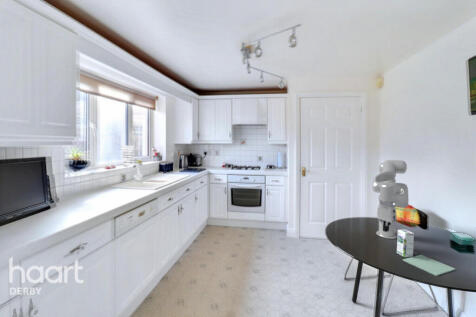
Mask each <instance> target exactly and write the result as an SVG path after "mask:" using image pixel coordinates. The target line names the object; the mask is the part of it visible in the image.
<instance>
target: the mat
mask: <svg viewBox="0 0 476 317" xmlns="http://www.w3.org/2000/svg"><path fill="white" fill-rule="evenodd" d="M402 261H403V262H405V263H407V264H409V265H412V266H414V267H415V268H418V269H421V270H422V271H425V272H427V273H429V274H431V275H433V276H435V277H437V276H441V275H443V274H447V273H450V272H453V271H455V270H456V267H455V268H454V267H452V266H449V265H447V264H444V263H443V262H440V261H439V260H438V261H437V260H435V259H433V258H430V257H427V256H426V255H423V254H419V255H415V256H414V255H413V257H406V258H403V259H402Z"/></svg>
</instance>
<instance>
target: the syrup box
mask: <svg viewBox="0 0 476 317" xmlns="http://www.w3.org/2000/svg"><path fill="white" fill-rule="evenodd" d="M414 238H415V233H414V232H412V231H410V230H407V229H398V232H397V242H396V254H399V255H400V256H401V257H403V258H410V257H414V242H415V241H414Z"/></svg>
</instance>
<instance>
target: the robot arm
mask: <svg viewBox="0 0 476 317" xmlns="http://www.w3.org/2000/svg"><path fill="white" fill-rule="evenodd" d="M378 168H379V169H378V170H379V173H378V174H377V175H376V176H374V178H373V180H372V181H373V182H372V190H373V192H374V193H378V207H377V212H376V215H377V216H376V217H377V220H378V230H377V231H376V232H375V234H376V235H377V236H378V237H381V238H385V239H391V240H392V239H393V240H394V239H398V234H396V233H398V230H399V229H396V222H397V216H398V215H397V209H396V208H402V209H406V208H407V207H409V200H410V199H409V188H408V185H407V184H406V183H404V182H403V183H402V182H396V176H397V174H402V175H403V174H406V171H407V169H408V166H407V162H406V161H405V160H398V159H397V160H395V159H388V160H385V161H384V162H382V163H380V164H379V166H378Z"/></svg>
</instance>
